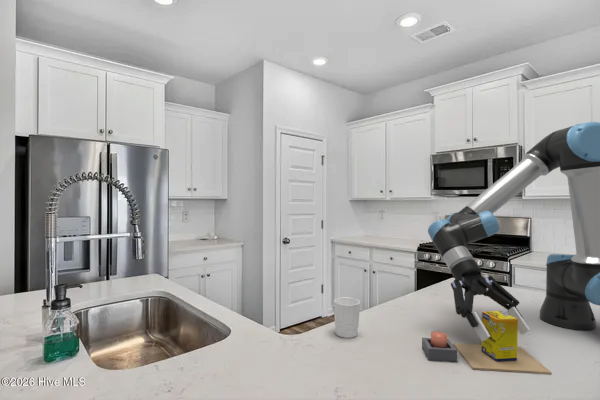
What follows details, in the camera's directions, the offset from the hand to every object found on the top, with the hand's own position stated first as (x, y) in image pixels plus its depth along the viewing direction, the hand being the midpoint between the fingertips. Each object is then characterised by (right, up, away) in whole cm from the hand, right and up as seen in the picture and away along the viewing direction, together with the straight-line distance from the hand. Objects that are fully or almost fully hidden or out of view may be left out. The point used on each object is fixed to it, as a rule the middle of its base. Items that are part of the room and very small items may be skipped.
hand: (506, 335), depth 88 cm
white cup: (-39, -6, +17) cm, 43 cm away
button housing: (-16, -7, +4) cm, 18 cm away
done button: (-16, -5, +4) cm, 17 cm away
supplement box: (-1, -7, +2) cm, 7 cm away
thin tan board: (-1, -7, +2) cm, 7 cm away
